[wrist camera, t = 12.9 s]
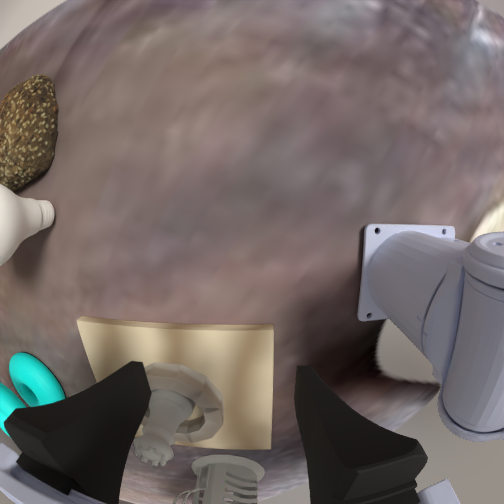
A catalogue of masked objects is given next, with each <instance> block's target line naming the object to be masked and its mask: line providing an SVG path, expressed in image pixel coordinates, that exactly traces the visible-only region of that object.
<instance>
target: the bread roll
mask: <svg viewBox="0 0 504 504" xmlns="http://www.w3.org/2000/svg"><path fill="white" fill-rule="evenodd" d="M57 115H58V104H57V102H56V99H55V90H54V83H53V82H52V81H51V79H50V78H48V77H47V76H46V75H45V74H41V75H35V76H33V77H32V78H29V79H28V80H26V81H24V82H22V83H19V84H18V85H16V86H15V87H14V88H13V89H12V90H10V91H9V93H8V94H7V95H6V96H5V97H4V99H3V100H2V102H1V105H0V184H2V185H3V186H5V187H6V188H8V189H9V190H11V191H12V192H14V191H15V190H18V189H20V188H22V187H23V186H25V185H26V184H27V183H29V182H30V181H31V180H33V179H35V178H37V177H38V176H39V175H41V174H43V173H44V172H45V171H46V170H47V169H48V168H49V166H50V165H51V162H52V158H53V156H54V149H55V143H56V138H57V134H58V132H57V129H56V128H57Z"/></svg>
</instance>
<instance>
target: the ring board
mask: <svg viewBox="0 0 504 504" xmlns="http://www.w3.org/2000/svg"><path fill="white" fill-rule="evenodd" d="M77 324H78V328H79V331H80V335H81V338H82V341H83V344H84V348H85V351H86V354H87V357H88V360H89V362H90V365H91V368H92V371H93V373H94V376H95V379H96V381H97V383H98V382H100V381H101V380H103V379H105V378H106V377H108V376H109V375H111V374H112V373H114V372H115V371H117V370H118V369H120V368H121V367H123V366H124V365H126V364H127V363H129V362H131V361H137V362H143V365H144V368H145V372H146V375H147V379H148V382H149V386H150V389H151V391H152V390H155V389H160V390H169V391H175V392H177V393H179V394H181V395H184V396H186V397H188V398H190V399H192V400H193V401H194V402H195V403H196V404H195V407H194V409H193V412H192V414H191V416H190V417H189V418H187V419H186V420H185V421H184V422H182V423H181V424H180V425H179V427H178V429H177V430H176V432H175V435H174V438H175V443H174V444H176V445H184V446H193V447H203V448H216V449H241V450H261V449H271V432H272V400H273V351H274V328H273V324H255V325H208V324H174V323H154V322H138V321H125V320H114V319H103V318H93V317H84V316H81V317H80V318H79V319H78V320H77ZM149 415H150V409H149V405H148V408H147V411H146V413H145V416H144V418H143V420H142V422H141V424H140V426H139V429H138V431H137V433H136V435H135V437H139V436H142V435H143V433H142V428H143V427H144V426H146V425H147V423H148V420H149Z"/></svg>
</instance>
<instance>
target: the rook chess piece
mask: <svg viewBox="0 0 504 504" xmlns="http://www.w3.org/2000/svg"><path fill="white" fill-rule="evenodd" d="M151 392H152V394H151V398H150V402H149V409H150V415H149V420H148V423H147V425H146V426H144V427H143V428H142V433H143V435H142V436H139V437H137V438H135V439H134V445H135V448H136V449H135V455H136V457H140V455H141V456H142V457H141V461H143V462H145V463H146V462H147V460H151V461H152V466H157V467H158V464H159V463H160V462H161V463H160V465H161V466H165V465H166V463H167V461H168V460H170V459H172V458H173V457H174V453H173V451H172V449H171V445H173V444H174V443H175V438H174V435H175V432H176V430H177V429H178V427H179V425H180V424H181V423H182V422H184V421H185V420H186V419H187V418H189V417H190V416H191V414H192V412H193V409H194V407H195V404H196V403H195V402H194V401H193V400H192V399H190V398H188V397H186V396H184V395H181V394H179V393H177V392H175V391H169V390H160V389H155V390H152V391H151Z"/></svg>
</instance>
